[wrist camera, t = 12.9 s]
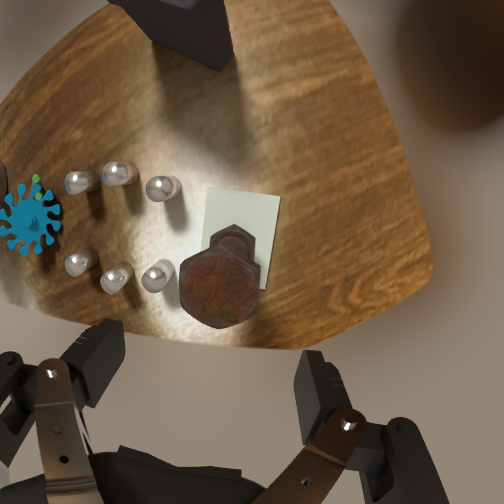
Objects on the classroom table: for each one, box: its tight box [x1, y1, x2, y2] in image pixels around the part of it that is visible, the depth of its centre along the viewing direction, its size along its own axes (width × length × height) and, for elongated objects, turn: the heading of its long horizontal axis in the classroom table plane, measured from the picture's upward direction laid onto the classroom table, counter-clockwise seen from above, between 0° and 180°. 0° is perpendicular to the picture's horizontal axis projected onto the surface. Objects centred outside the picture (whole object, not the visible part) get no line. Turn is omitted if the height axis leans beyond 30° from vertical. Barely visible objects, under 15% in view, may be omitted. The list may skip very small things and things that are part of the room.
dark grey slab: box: [107, 0, 234, 72], centre depth 19 cm, size 11×4×15 cm, turn 55°
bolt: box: [179, 224, 261, 329], centre depth 24 cm, size 6×5×15 cm
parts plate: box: [201, 187, 280, 289], centre depth 32 cm, size 8×11×1 cm
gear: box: [0, 174, 61, 256], centre depth 29 cm, size 11×6×10 cm
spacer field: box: [64, 162, 181, 294], centre depth 30 cm, size 14×15×4 cm
